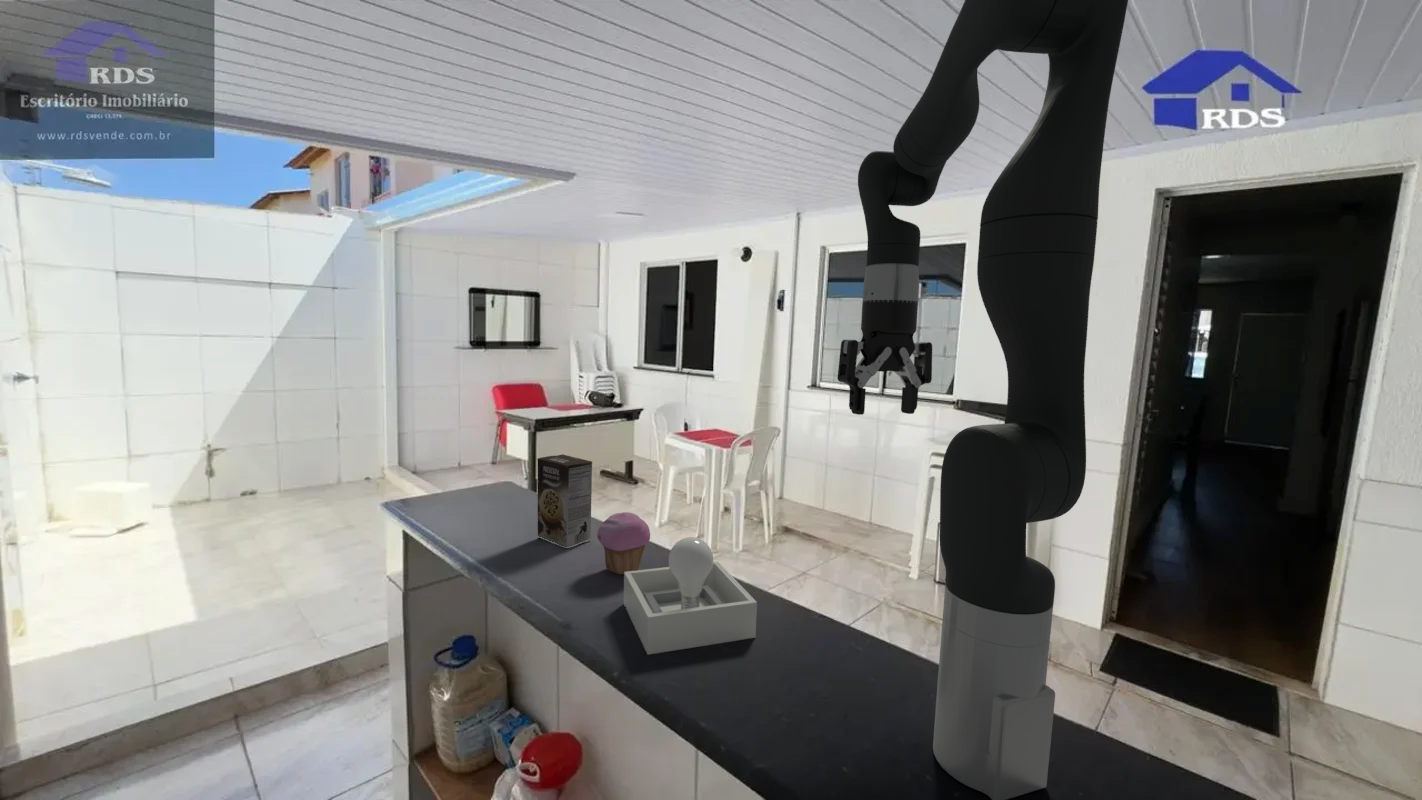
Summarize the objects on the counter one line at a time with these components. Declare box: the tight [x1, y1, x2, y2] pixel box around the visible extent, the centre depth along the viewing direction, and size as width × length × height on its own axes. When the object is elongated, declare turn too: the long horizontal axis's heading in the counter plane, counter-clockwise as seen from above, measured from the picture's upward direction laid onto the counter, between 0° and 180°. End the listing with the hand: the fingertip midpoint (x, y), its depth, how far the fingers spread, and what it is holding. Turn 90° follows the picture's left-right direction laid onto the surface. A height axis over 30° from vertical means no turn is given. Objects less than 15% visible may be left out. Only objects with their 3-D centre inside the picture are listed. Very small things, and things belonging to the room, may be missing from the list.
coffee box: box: [536, 453, 593, 547], centre depth 115 cm, size 9×6×16 cm
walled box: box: [623, 561, 758, 656], centre depth 85 cm, size 15×15×5 cm
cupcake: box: [596, 511, 651, 575], centre depth 102 cm, size 9×9×10 cm
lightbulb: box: [667, 536, 714, 610], centre depth 84 cm, size 6×6×11 cm
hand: (883, 413), depth 86 cm, fingers open, 8 cm apart
